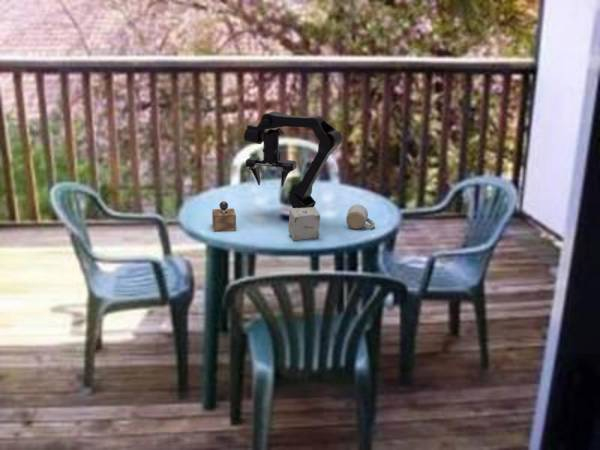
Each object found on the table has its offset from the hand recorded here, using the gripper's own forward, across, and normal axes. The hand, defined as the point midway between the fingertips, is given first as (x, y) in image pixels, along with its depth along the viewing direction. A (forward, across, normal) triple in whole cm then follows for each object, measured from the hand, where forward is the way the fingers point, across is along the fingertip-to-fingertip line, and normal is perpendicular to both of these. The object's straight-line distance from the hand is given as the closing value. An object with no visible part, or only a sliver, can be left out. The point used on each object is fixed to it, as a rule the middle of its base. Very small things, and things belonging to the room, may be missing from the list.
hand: (270, 185), depth 286 cm
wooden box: (+13, +13, +16) cm, 24 cm away
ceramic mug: (+13, -35, -1) cm, 37 cm away
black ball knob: (+12, +13, +16) cm, 24 cm away
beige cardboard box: (+13, -18, +17) cm, 28 cm away
